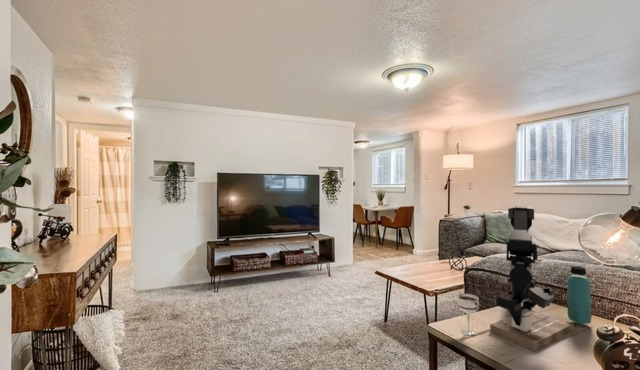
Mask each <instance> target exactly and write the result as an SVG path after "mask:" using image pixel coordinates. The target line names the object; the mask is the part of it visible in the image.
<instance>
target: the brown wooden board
mask: <svg viewBox="0 0 640 370" xmlns="http://www.w3.org/2000/svg"><path fill="white" fill-rule="evenodd" d="M531 311H532V329H531V330H529V331H526V332H525V331H522V330H520V329H517V328H515V327H512V316H511V315H510V316H508V317H505V318H503V319H500V320H498V321H495V322H493V323H490V324H489V325H490V326H489V327H490V328H489V330H490V332H489V333H492V334H495V335H497V336H499V337H502V338H503V339H506V340H508V341H511V342H513V343H514V344H517V345H519V346H521V347H524V348H526V349H527V350H528V349H529V350H531V351H533V352H536V351H539V350H540V349H542V348H544V347H546V346H548V345H550V344H552V343H554V342H556V341H558V340H559V339H562V338H564V337H565V336H567V335H570V334H571V333H573V332H574V323H572V322H568V321H567V320H563V319H560V318H557V317H555V316H551V315H547V314H546V313H545V314H544V313H542V312H539V311H537V310H533V309H532V310H531Z"/></svg>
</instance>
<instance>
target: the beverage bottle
mask: <svg viewBox="0 0 640 370" xmlns="http://www.w3.org/2000/svg"><path fill="white" fill-rule="evenodd" d="M570 273H571V274H573V275H570V276H568V277H567V279H566V281H567V304H566V306H567V317H568V320H570V321H571V322H575V323H578V324H582V325H583V324H584V325H590V324H591V322H592V316H593V315H592V299H591V298H592V297H591V281H590V279H588V278H587V277H586V276H585V275H587V271H586V268H585V267H583V266H578V265H577V266H576V265H574V266H573V265H572V266H571V268H570Z"/></svg>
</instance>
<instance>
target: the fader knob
mask: <svg viewBox="0 0 640 370" xmlns="http://www.w3.org/2000/svg"><path fill="white" fill-rule="evenodd" d="M512 327H515V328H517V329H520V330H522V331H525V332H526V331H529V330H531V329H532V311H531V310H528V309H525V310H523V311H522V317H521V324H520V326H518V325H516V323H515V321H514V320H513V318H512Z"/></svg>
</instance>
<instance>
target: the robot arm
mask: <svg viewBox="0 0 640 370" xmlns="http://www.w3.org/2000/svg"><path fill="white" fill-rule="evenodd" d="M507 210H508V211H507V212H508V213H507V214H508V215H507V218H508V219H509V220H510V225H511V227H512V228H513V232H511V233H510V234H509V236H508V237H509V239H508V240H506V261H509V262H510V269H509V274H508V275H509V278H507V282H508V283H509V290H508V291H507V295H506V294H502V295H500V296H497V297H496V298H495V306H496V307H500V308H502V309H505V310H508V312H509V314H510V316H512V318H513V320H514V321H515V323H516V325H518V326H520V324H521V317H522V311H523V310H525V309H528V310H533V308H534V307H535V306H538V307H539V308H540V309H541V308H542V309H544V308H546V307H550V305H551V303H552V301H555V294H554V289H552V288H551V287H550V286H549V287H544V288H542V287H538V282H537V280H536V277H533V271H532V264H536V261H538V246H537V245H536V243H535V242H533V237H532V235H531V234H530V233H529V232H528V231H529V229H530V228H531V227H532V226H533V221H535V209H533V208H531V207H527V206H513V207H511V208H507ZM509 295H510V296H509Z"/></svg>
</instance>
